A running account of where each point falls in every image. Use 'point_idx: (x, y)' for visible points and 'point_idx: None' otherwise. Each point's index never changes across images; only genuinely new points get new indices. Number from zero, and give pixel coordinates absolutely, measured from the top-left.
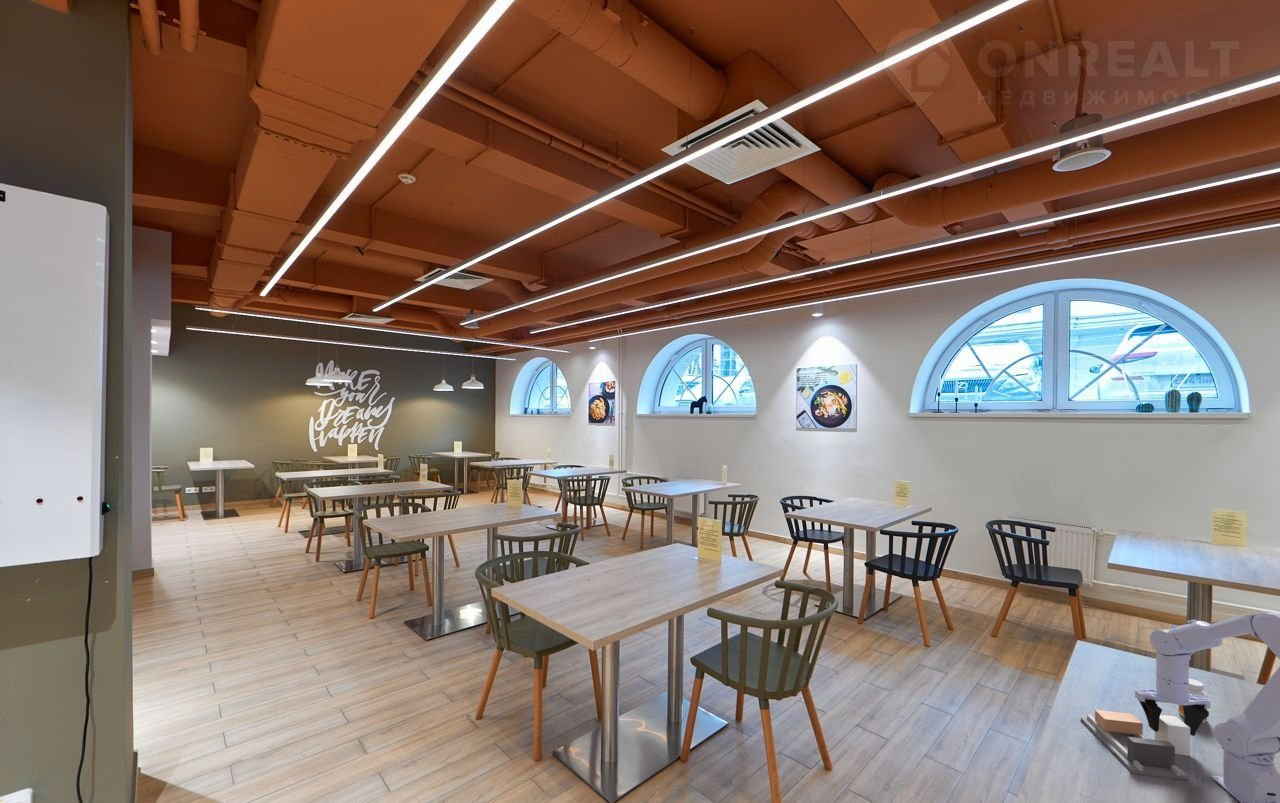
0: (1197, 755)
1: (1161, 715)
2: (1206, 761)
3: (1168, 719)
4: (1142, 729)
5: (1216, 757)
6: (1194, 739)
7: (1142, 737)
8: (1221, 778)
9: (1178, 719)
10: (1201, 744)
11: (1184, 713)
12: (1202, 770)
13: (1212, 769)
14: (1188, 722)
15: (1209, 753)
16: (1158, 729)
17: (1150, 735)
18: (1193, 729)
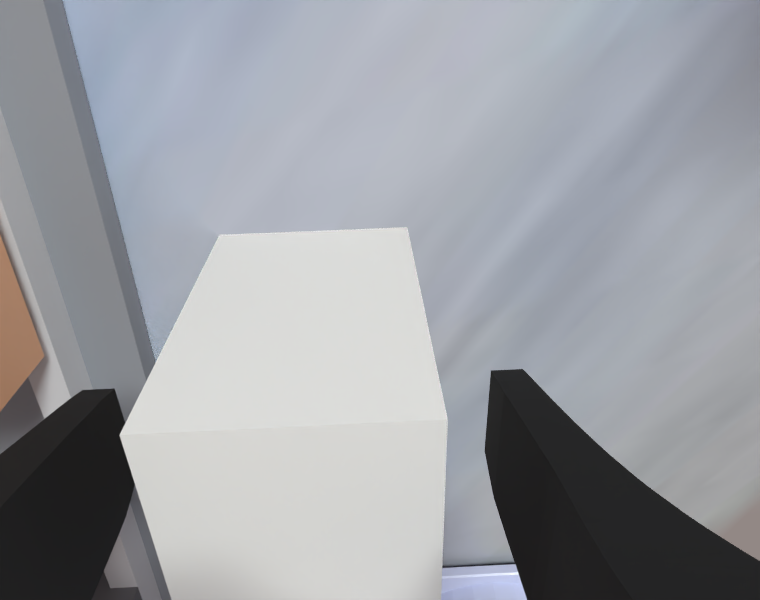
0: (474, 361)
1: (217, 445)
2: (485, 418)
3: (267, 518)
4: (10, 398)
5: (615, 351)
6: (671, 96)
7: (46, 361)
8: None
9: (423, 491)
10: (662, 180)
11: (573, 522)
12: None
13: (453, 491)
14: (527, 508)
15: (606, 310)
16: (129, 501)
17: (228, 135)
18: (507, 535)
